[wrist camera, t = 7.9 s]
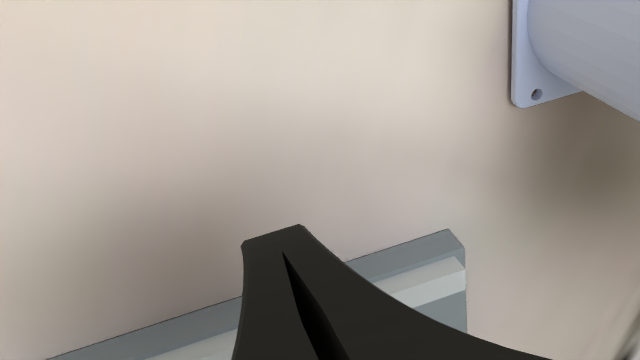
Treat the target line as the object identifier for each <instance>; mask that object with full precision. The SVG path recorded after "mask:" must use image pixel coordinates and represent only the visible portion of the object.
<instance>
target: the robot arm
mask: <svg viewBox="0 0 640 360" xmlns="http://www.w3.org/2000/svg"><path fill="white" fill-rule="evenodd" d="M536 89H537V92H536V94H535V95H534V96H532V97H531V95H532V93H533V91H534V90H536ZM581 91H584V92H586V93H588V94H590V95H591V96H593V97H595V98H597V99H599V100H600V101H602V102H604V103H606V104H608V105H610V106H611V107H613V108H615V109H617V110H619V111H620V112H622V113H624V114H626V115H628V116H629V117H631V118H633V119H635V120H637V121H638V122H640V0H513V17H512V71H511V100H512V103H513V104H514V105H516V106H517V107H519V108H527V107H530V106H534V105H537V104H541V103H544V102H547V101H551V100H554V99H558V98H561V97H564V96H568V95H571V94H574V93H578V92H581ZM241 250H242V254H243V264H244V280H243V294H242V305H241V313H240V319H239V324H238V330H237V336H236V341H235V346H234V350H233V354H232V358H231V360H551V359H548V358H544V357H540V356H536V355H532V354H528V353H525V352H521V351H517V350H513V349H510V348H506V347H503V346H500V345H497V344H494V343H491V342H488V341H485V340H482V339H479V338H477V337H474V336H471V335H469V334H467V333H464V332H462V331H459V330H457V329H455V328H452V327H450V326H447V325H445V324H443V323H440V322H438V321H436V320H434V319H432V318H430V317H428V316H426V315H424V314H422V313H420V312H418V311H416V310H415V309H413V308H411V307H409V306H407V305H405V304H404V303H402V302H400V301H399V300H397V299H395V298H394V297H392V296H390V295H389V294H387V293H386V292H384V291H383V290H381V289H380V288H378V287H377V286H375V285H374V284H372V283H371V282H369V281H368V280H366V279H365V278H364V277H362V276H361V275H359V274H358V273H357V272H355V271H354V270H353V269H352V268H350V267H349V266H348V265H346V264H345V263H344V262H342V261H341V260H340V259H339V258H338V257H336V256H335V255H334V254H333V253H332V252H331V251H329V250H328V249H327V248H326V247H325V246H324V245H323V244H321V243H320V242H319V241H318V240H317V239H316V238H315V237H314V236H313V235H312V234H311V233H310V232H309V231H308V230H307V229H306V228H305V227H304V226H302V225H300V224H297V225H294V226H291V227H287V228H284V229H281V230H278V231H274V232H271V233H268V234H265V235H262V236H258V237H255V238H252V239H249V240H245V241H244V242H243V244H242V245H241Z"/></svg>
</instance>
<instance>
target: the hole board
mask: <svg viewBox="0 0 640 360" xmlns="http://www.w3.org/2000/svg"><path fill="white" fill-rule="evenodd" d="M345 264H346V265H348V266H349V267H350V268H352V269H353V270H354V271H355V272H357V273H358V274H359V275H361V276H362V277H364V278H365V279H366V280H368V281H369V282H371V283H372V284H374V285H375V286H377V287H378V288H380V289H381V290H383V291H384V292H386V293H387V294H389V295H390V296H392V297H394V298H395V299H397V300H399V301H400V302H402V303H404V304H405V305H407V306H409V307H411V308H413V309H415V310H416V311H418V312H420V313H422V314H424V315H426V316H428V317H430V318H432V319H434V320H436V321H438V322H440V323H443V324H445V325H447V326H450V327H452V328H455V329H457V330H459V331H462V332H464V333H467V318H466V273H465V253H464V246H463V245H462V244H461V243H460V242H459V240H458V239H457V238H456V237H455V236H454V235H453V233H452V232H451V231H450V230H449V229H446V230H443V231H440V232H437V233H434V234H431V235H428V236H425V237H422V238H419V239H416V240H413V241H410V242H407V243H404V244H400V245H397V246H394V247H391V248H388V249H385V250H382V251H379V252H376V253H373V254H370V255H367V256H364V257H361V258H358V259H354V260H351V261H348V262H345ZM241 305H242V296H241V297H238V298H235V299H232V300H229V301H226V302H223V303H220V304H217V305H214V306H210V307H207V308H204V309H201V310H198V311H195V312H192V313H189V314H186V315H183V316H180V317H177V318H174V319H171V320H168V321H165V322H161V323H158V324H155V325H152V326H149V327H146V328H143V329H140V330H137V331H134V332H131V333H128V334H125V335H122V336H119V337H115V338H112V339H109V340H106V341H103V342H100V343H97V344H94V345H91V346H88V347H85V348H82V349H79V350H76V351H73V352H70V353H66V354H63V355H60V356H57V357H54V358H51V359H48V360H231V358H232V354H233V350H234V346H235V341H236V336H237V330H238V324H239V319H240V313H241Z"/></svg>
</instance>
